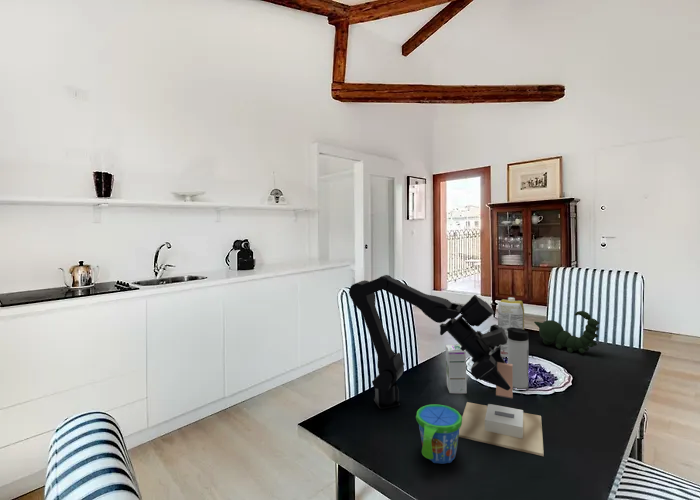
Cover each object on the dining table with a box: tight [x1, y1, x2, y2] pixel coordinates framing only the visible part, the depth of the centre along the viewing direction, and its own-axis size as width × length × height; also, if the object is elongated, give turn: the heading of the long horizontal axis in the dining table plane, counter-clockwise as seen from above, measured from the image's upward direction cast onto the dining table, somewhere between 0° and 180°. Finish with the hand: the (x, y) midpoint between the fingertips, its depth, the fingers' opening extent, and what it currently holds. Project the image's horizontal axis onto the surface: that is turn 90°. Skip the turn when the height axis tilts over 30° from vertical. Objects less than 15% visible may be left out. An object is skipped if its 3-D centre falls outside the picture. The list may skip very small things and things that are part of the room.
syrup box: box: [445, 344, 468, 395], centre depth 118 cm, size 6×6×14 cm
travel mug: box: [507, 328, 529, 390], centre depth 118 cm, size 6×7×20 cm
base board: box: [458, 401, 545, 457], centre depth 96 cm, size 20×18×1 cm
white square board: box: [485, 403, 524, 439], centre depth 96 cm, size 9×9×3 cm
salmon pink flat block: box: [495, 362, 514, 399], centre depth 95 cm, size 4×1×9 cm, turn 63°
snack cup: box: [415, 403, 463, 465], centre depth 85 cm, size 16×10×10 cm
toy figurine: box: [533, 310, 600, 354], centre depth 151 cm, size 9×19×25 cm
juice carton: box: [497, 297, 525, 358], centre depth 144 cm, size 9×8×24 cm
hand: (510, 381), depth 94 cm, fingers open, 9 cm apart
